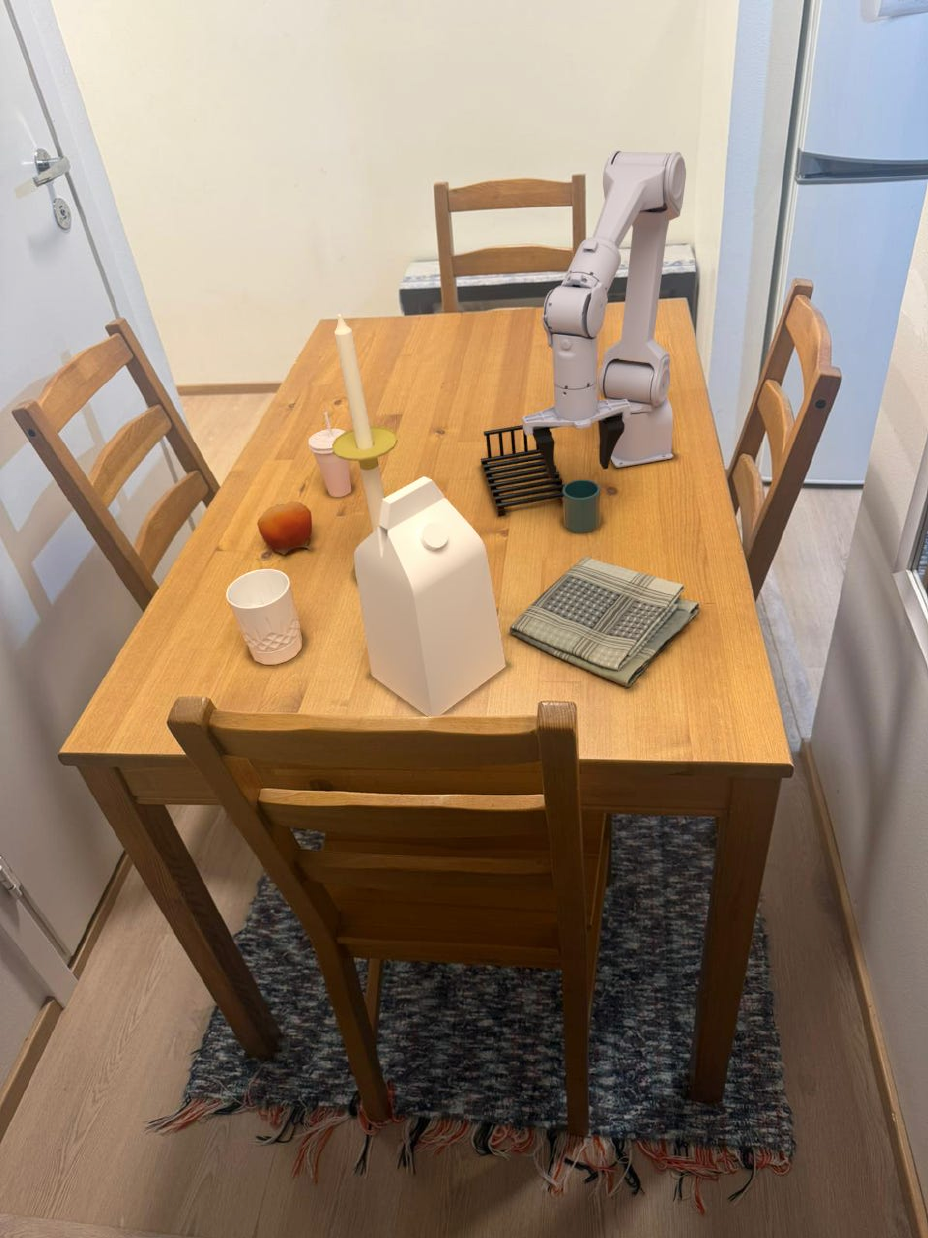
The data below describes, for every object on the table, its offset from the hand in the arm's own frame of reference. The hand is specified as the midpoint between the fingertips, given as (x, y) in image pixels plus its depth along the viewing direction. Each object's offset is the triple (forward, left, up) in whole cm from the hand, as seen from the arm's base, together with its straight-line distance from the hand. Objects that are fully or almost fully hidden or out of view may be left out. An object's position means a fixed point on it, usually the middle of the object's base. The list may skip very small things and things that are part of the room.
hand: (577, 470), depth 124 cm
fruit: (+43, -8, -9) cm, 44 cm away
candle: (+29, +3, -9) cm, 30 cm away
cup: (0, 0, -9) cm, 9 cm away
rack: (+6, -13, -9) cm, 16 cm away
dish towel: (+3, +23, -9) cm, 25 cm away
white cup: (+45, +16, -9) cm, 48 cm away
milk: (+25, +26, -9) cm, 37 cm away
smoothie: (+35, -21, -9) cm, 41 cm away
